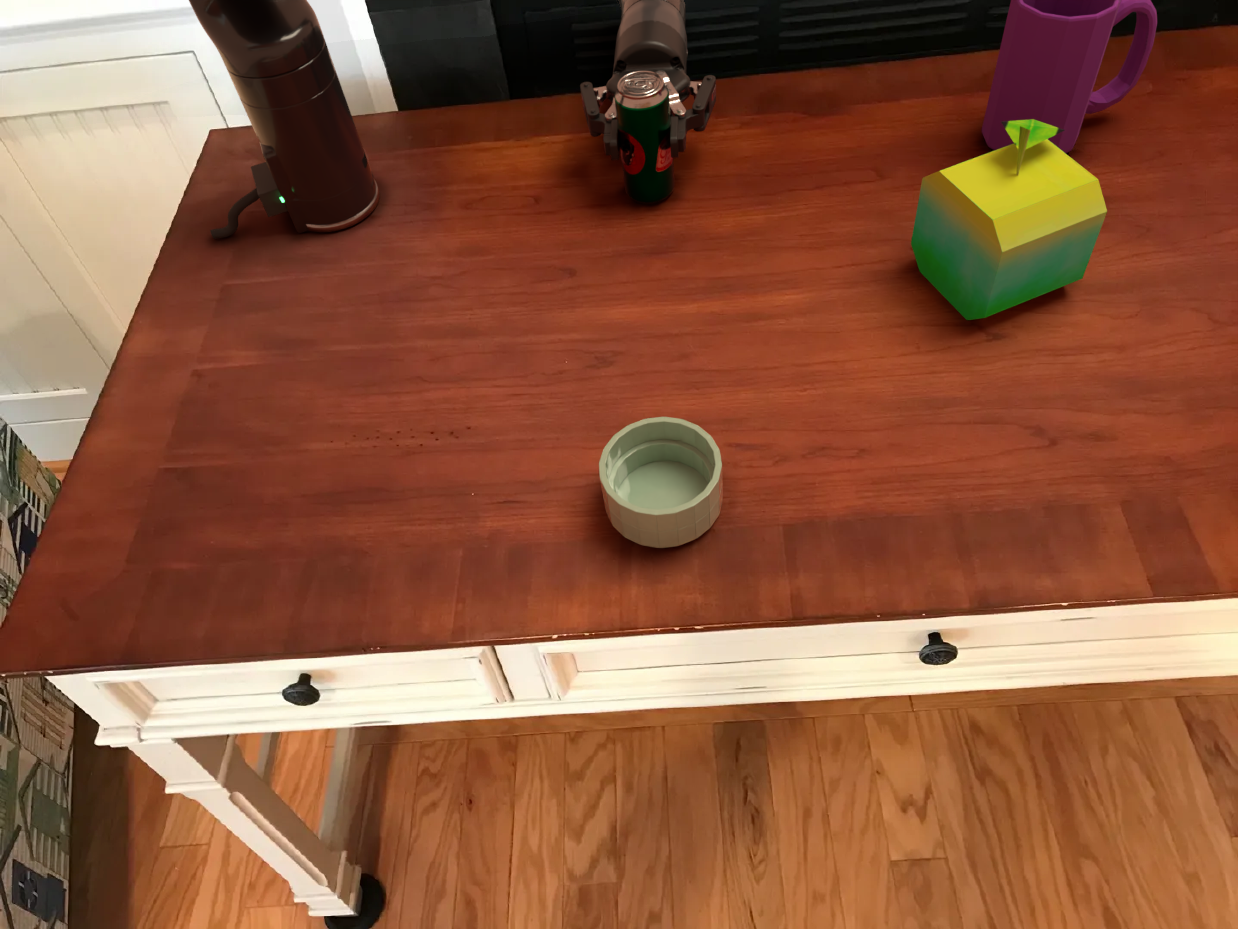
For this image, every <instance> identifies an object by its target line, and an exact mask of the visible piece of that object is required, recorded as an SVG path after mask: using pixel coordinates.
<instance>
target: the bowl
mask: <svg viewBox="0 0 1238 929" xmlns="http://www.w3.org/2000/svg"><path fill="white" fill-rule="evenodd" d="M598 473H599V474H598V475H599V482H600V486H601V493H602V498H603V503H604V508H605V512H606V515H607V517H608V519H609V521H610V523H611V525H612V527H613V528H614V529H615V530H616V531H617V532H618V533H620V535H622V537H624V538H625V539H626V540H629V541H631V542H634V543H635V544H638V545H640V546H642V547H643V546H645V547H650V548H656V549H665V548H673V547H675V548H676V547H679V546H682V545H684V544H687V543H689V542H692V541H694V540H696V539H699V538H700V537H701V536H703V534H705V533H706V532H708V531H709V530H710V528H712V527H713V525H714V523H715V521H717V519H718V517H719V516H720V514H721V511H722V510H721V509H722V506H723V501H724V491H723V490H724V488H723V487H724V486H723V461H722V455H721V450H720V448H719V446H718V444H717V442H716V441H715V440H714V438H713V436H712V435H711V434H710V433H708V432H707V431H706V430H704V428H702V427H701V426H699V425H698V424H696V423H693V422H692V421H691V422H690V421H688V420H686V419H683V418H680V417H679V418H678V417H670V416H656V417H655V416H654V417H648V418H647V417H646V418H643V419H640V420H638V421H635V422H632V423H630V424H627V425H626V426H624V427H623V428H622V429H620V430H618V431H617V432H616V433H615V434H614V435H612V437H610V439H609V441H608V442H607V443H606V445H605V446H604V447H603V450H602V452H601V456H600V458H599V460H598Z"/></svg>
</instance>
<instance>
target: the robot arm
mask: <svg viewBox="0 0 1238 929" xmlns="http://www.w3.org/2000/svg"><path fill="white" fill-rule="evenodd" d="M618 1H619V4H620V6H619V8H620V7H621V8H620V10H621V17H620V24H619V27H618V30H617V34H616V40H615V49H614V57H613V58H614V60H613V68H612V75H611V78H610V79H609V80H608V81H607V82H606V85H604V86H599V87H594V86H593V83H592V82H590V81H584V82H581V83H580V85H579V87H580V95H581V103H582V108H583V112H584V116H585V120H586V124H587V128H588V132H589V135H590V136H591V137H593V138H597V137H600V136H602V135H603V136H602V137H603V138H602V141H603V150H604V154H605V156H610V158H611V159H610V160H611V161H620V156H621V150H620V141H619V133H618V124H617V115H616V106H615V97H614V96H615V92H616V90H617V85H618V82H619V80H620V79H621V78H622V77H624V76H625V75H627V74H629V73H632V72H636V71H652V72H655V73H658V74H659V75H661V76H662V78H663V80H664V84H665V85H666V86H667V88H668V90H669V102H670V117H671V129H670V147H671V158H673V159H674V158H675V159H676V158H679V156H680V153H684V152H685V150H686V149H687V134H688V132H689V131H692V130H693V131H694V132H697V133H699V132H700V133H701V132H704V131H705V130H706V128H707V126H708V123H709V120H710V118H711V115H712V112H713V109H714V108H715V104H716V102H717V80H716V76H715V75H712V74H708V75H705V76H704V77H703V79H702V81H692V80H691V78H690V77H689V75H687V59H688V54H689V50H688V35H687V31H686V16H687V15H686V13H687V12H686V9H687V8H686V4H685V2H684V0H618ZM188 2H189V4H190V6H191V8H192V10H193V12H194V15H195V16H196V18H197V20H198V22H199V23H200V25H201V27H202V29H203V30H204V32H205V33H206V35H207V36H208V38H209V39H210V40H211V42H212V44H213V45H214V47H215V49H217V52H218V54H219V56H220V58H221V60H222V62H223V64H224V67H225V68H226V71H227V73H228V76H229V77H230V80H231V82H232V84H233V86H234V89H235V90H236V93H237V95H238V97H239V100H240V102H241V104H242V106H243V109H244V111H245V113H246V115H247V117H248V120H249V122H250V125H251V127H252V129H253V131H254V134H255V135H256V138H257V140H258V144H259V146H260V150H261V153H262V157H263V159H264V162H261V163H258V164H255V165H251V166H250V170H251V174H252V177H253V182H254V185H255V188H253V190H251V191H250V192H248V193H247V194H245V195H243V196H242V197H241V198H240V199H238V200H237V201H236V202H235V203H234V204H233V205H232V206H231V207H230V209H229V210H228V213H227V225H225V226H224V227H219V228H213V229H209V232H210V235H211V237H212V239H213V240H217V239H222V238H227V237H230V236H232V235H234V234H235V233H236V232H237V230H238V228H239V217H240V216H241V214H242V212H243V211H245V209H247V208H248V207H249V206H251V205H252V204H253V203H256V201H258V200H260V202H261V204H262V207H263V208H264V211H265V212H266V216H267V217H268V218H271V217H274V216H277V215H280V214H283V213H286V212H288V214H289V217H290V219H291V221H292V223H293V226H294V228H295V230H296V232H297V234H302V233H306V232H313V233H332V232H336V231H341V230H344V229H347V228H350V227H353V226H355V225H356V224H359V223H360V222H362V221H363V220H364V219H367V217H368V216H370V215H371V213H372V212H374V210H375V209H376V207H377V206H378V204H379V201H380V197H381V193H380V190H379V186H378V184H377V183H378V182H377V181H376V180H375V176H374V174H373V171H372V169H371V165H370V163H369V162H370V160H369V157H368V156H367V154H366V151H365V148H364V147H363V146H364V145H363V144H362V141H361V138H360V135H359V133H358V129H357V127H356V123H355V121H354V118H353V116H352V113H351V110H350V108H349V104H348V101H347V98H346V96H345V92H344V90H343V87H342V85H341V84H342V83H341V81H340V79H339V76H338V73H337V70H336V68H335V63H334V62H333V59H332V56H331V53H330V50H329V47H328V45H327V42H326V39H325V37H324V33H323V30H322V28H321V24H320V22H319V19H318V17H317V14H316V12H315V10H314V8H313V7H312V5H311V4H310V2H309V1H308V0H188ZM619 4H618V5H619ZM690 96H692V97H693V103H692V106H691V107H692V108H689V109H686V107H685V106H684V104H683V102H685V101H686V100H687V99H688V98H689V97H690ZM606 100H608V101H609V102H610V103H611V105H610V107H609V108H608V109H607V111H606V112H605V113H602V112H601V111H602V110H601V107H603V105H604V102H605V101H606ZM600 112H601V113H600Z"/></svg>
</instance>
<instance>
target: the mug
mask: <svg viewBox="0 0 1238 929" xmlns="http://www.w3.org/2000/svg"><path fill="white" fill-rule="evenodd" d="M1133 12H1134V13H1136V23H1135V28H1134V32H1133V37H1132V41H1131V43H1130V46H1129V49H1128V52H1127V54H1126V57H1125V60H1124V62H1123V64H1122V65H1121V67H1120V70H1119V72H1118V74H1117V75H1115V76H1114V78H1112V79H1111V80H1110V81H1109V82H1108V83H1107V84H1106V85H1104V86H1102V87H1100V88H1099V89H1097V90H1096V91H1093V90H1094V88H1095V84H1096V82H1097V78H1098V74H1099V71H1100V68H1101V65H1102V62H1103V60H1104V55H1105V53H1106V49H1107V46H1108V43H1109V41H1110V37H1111V33H1112V30H1113V27H1114V26H1116V25H1117V24H1118V23H1120V22H1121V21H1123V20H1124V19H1125V18H1126V17H1127V16H1129V15H1130V14H1131V13H1133ZM1005 20H1006V21H1005V25H1004V30H1003V34H1002V39H1001V42H1000V46H999V52H998V56H997V60H996V64H995V69H994V74H993V77H992V82H991V87H990V90H989V95H988V100H987V103H986V104H987V105H986V108H985V113H984V117H983V121H982V126H981V134H982V136H983V138H984V140H985V141H984V142H985V143H986V145H987V147H989V149H992V151H995V150H997V149H1000V148H1003V147H1006V146H1008V145H1011V144H1014V142H1013V141H1012V139H1011V137H1010V136H1009V134H1008V133H1007V131H1006V129H1005V128H1004V126H1003V124H1002V123H1001V122H1002V121H1016V120H1030V119H1034V120H1037V121H1040V122H1043V123H1046V124H1049V125H1052V126H1055V127H1058V128H1061V129H1064V130H1065V131H1062V132H1060V133H1058V134H1056V135H1054V136H1052V137H1050V138H1048V140H1049V141H1050V142H1052V143H1053V144H1054V145H1055V146H1057V147H1058V148H1059V149H1060V150H1062V151H1063V152H1064V153H1066V154H1067V153H1069V152H1071V151H1072V150H1073V148H1074V147H1075V144H1076V142H1077V140H1078V137H1079V136H1080V132H1081V128H1082V125H1083V122H1084V119H1085V115H1086V114H1088V115H1092V114H1096V113H1099V112H1102V111H1105V110H1107V109H1108V108H1111V107H1112V106H1114V105H1115V104H1118V103H1119V102H1121V101H1122V100H1123V99H1124V98H1125V97H1126V96H1127V95H1128V94H1129V93H1130V92H1131V90H1132V89H1134V88H1135V87H1136V85H1137V83H1138V82H1139V80H1140V78H1141V76H1142V74H1143V72H1144V70H1145V69H1146V66H1147V63H1148V60H1149V57H1150V55H1151V53H1152V49H1153V47H1154V43H1155V38H1156V32H1157V27H1158V14H1157V9H1156V7H1155V5H1154V3H1153V2H1152V0H1010V4H1009V9H1008V12H1007V17H1006V19H1005Z"/></svg>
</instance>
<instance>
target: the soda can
mask: <svg viewBox="0 0 1238 929" xmlns="http://www.w3.org/2000/svg"><path fill="white" fill-rule="evenodd" d="M614 97H615V106H616V115H617V124H618V133H619V141H620V157H621V158H620V159H621V167H622V176H623V184H624V191H625V193H626V195H627V196H628V197H629V198H630V199H632V201H635V202H637V203H640V204H644V205H650V204H651V205H652V204H657V203H659V202H662V201H664V200H665V199H667V198H668V197H669V196H670V195H671V194H672V193H673V191H674V189H675V186H676V181H675V179H676V178H675V165H674V158H671V147H670V129H671V117H670V102H669V90H668V88H667V86H666V85H665V84H664V80H663V78H662V76H661V75H659V74H658V73H655V72H652V71H636V72H632V73H629V74H627V75H625V76H624V77H622V78H621V79H620V80H619V82H618V85H617V90H616V92H615V96H614Z"/></svg>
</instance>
